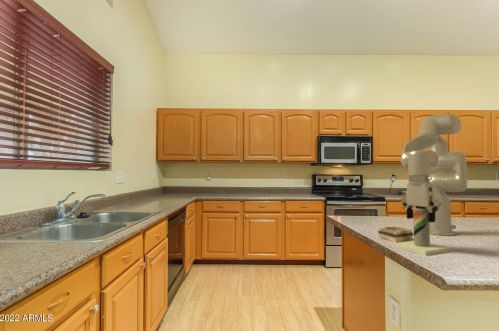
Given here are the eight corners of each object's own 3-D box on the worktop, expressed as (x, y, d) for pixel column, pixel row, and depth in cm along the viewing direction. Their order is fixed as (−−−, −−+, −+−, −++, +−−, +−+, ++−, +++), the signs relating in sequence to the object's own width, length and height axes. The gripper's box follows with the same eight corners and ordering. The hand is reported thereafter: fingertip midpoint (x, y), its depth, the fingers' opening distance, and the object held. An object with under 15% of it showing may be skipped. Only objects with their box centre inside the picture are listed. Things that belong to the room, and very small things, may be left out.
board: (417, 243, 123) (417, 240, 123) (449, 251, 110) (449, 247, 110) (394, 246, 118) (394, 243, 118) (425, 255, 105) (425, 251, 105)
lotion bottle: (418, 242, 118) (417, 196, 119) (432, 245, 113) (431, 197, 114) (410, 244, 115) (410, 197, 116) (424, 247, 110) (423, 198, 111)
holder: (394, 235, 139) (393, 225, 139) (413, 240, 129) (413, 229, 129) (377, 237, 135) (377, 227, 135) (396, 242, 125) (396, 231, 125)
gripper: (446, 179, 109) (447, 222, 108) (407, 179, 125) (408, 216, 124) (433, 180, 106) (434, 224, 105) (394, 179, 122) (396, 217, 122)
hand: (420, 220), depth 115 cm, fingers open, 9 cm apart
